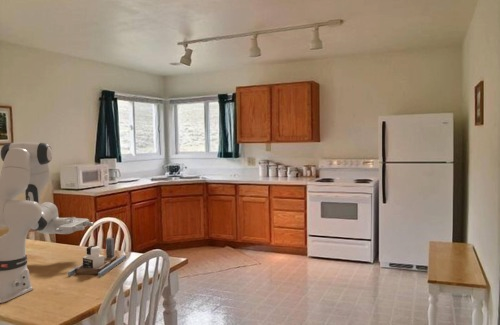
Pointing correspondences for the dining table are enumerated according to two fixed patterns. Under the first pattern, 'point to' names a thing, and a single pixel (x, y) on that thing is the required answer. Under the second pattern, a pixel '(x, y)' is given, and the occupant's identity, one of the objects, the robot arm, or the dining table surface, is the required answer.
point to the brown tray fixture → (107, 259)
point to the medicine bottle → (93, 258)
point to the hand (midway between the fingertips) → (88, 226)
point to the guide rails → (104, 268)
